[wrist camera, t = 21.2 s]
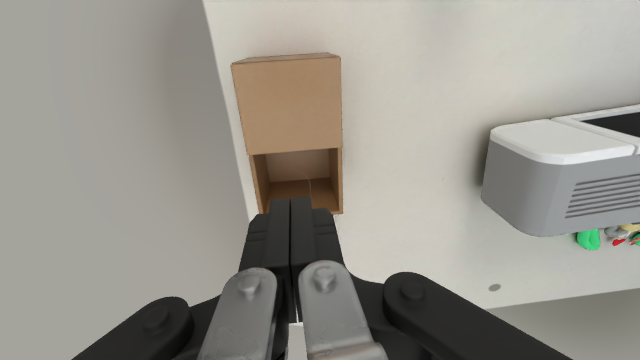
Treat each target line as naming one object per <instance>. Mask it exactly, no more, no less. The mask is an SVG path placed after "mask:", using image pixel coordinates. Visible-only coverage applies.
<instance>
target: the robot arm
mask: <svg viewBox="0 0 640 360" xmlns="http://www.w3.org/2000/svg"><path fill="white" fill-rule="evenodd" d="M296 305H297V313H298V320H299V322H303V326H304V334H305V341H306V349H307V358H308V360H573V359H571V358H569V357H567V356H565V355H563V354H562V353H560V352H558V351H557V350H555V349H553V348H551V347H549V346H547V345H546V344H544V343H542V342H540V341H539V340H537V339H535V338H533V337H532V336H530V335H528V334H526V333H524V332H523V331H521V330H519V329H517V328H515V327H514V326H512V325H510V324H508V323H507V322H505V321H503V320H501V319H499V318H498V317H496V316H494V315H492V314H490V313H489V312H487V311H485V310H484V309H482V308H480V307H478V306H476V305H475V304H473V303H471V302H469V301H468V300H466V299H464V298H462V297H460V296H459V295H457V294H455V293H453V292H452V291H450V290H448V289H446V288H444V287H443V286H441V285H439V284H437V283H435V282H434V281H432V280H430V279H428V278H427V277H425V276H422V275H420V274H417V273H413V272H400V273H396V274H394V275H392V276H390V277H389V278H388V279H387V280H386V281H385V283H384V284H381V283H375V282H369V281H365V280H362V279H359V278H357V277H355V276H354V275H352V274H351V273H350V272H349V271H348V270H347V268H346V267H345V264H344V261H343V257H342V252H341V248H340V244H339V239H338V235H337V231H336V227H335V222H334V218H333V214H332V213H330V212H329V211H328V210H327V209H326V208H315V209H312V206H311V197H310V196H305V197H294V198H291V200H290V198H284V199H273V200H271V201H270V207H269V213H263V214H257V215H256V216H255V217H254V219H253V220H252V221H251V222H250V224H249V228H248V234H247V237H246V243H245V245H244V249H243V254H242V258H241V262H240V266H239V270H238V273H237V274H235V275H234V276H233V277H231V278H230V279H229V281H228V282H227V283H226V284H225V286H224V288H223V291H222V294H220V295H219V296H217V297H215V298H213V299H210V300H208V301H205V302H202V303H200V304H197V305H194V306H192V307H189V306H188V304H187V302H186V301H185V300H184V299H182V298H179V297H165V298H161V299H158V300H155V301H153V302H151V303H149V304H147V305H146V306H144V307H143V308H142V309H140V310H139V311H137V312H136V313H135V314H133V315H132V316H130V317H129V318H128V319H126V320H125V321H124V322H122V323H121V324H119V325H118V326H117V327H115V328H114V329H113V330H111V331H110V332H109V333H107V334H106V335H104V336H103V337H102V338H100V339H99V340H98V341H96V342H95V343H94V344H92V345H91V346H89V347H88V348H87V349H85V350H84V351H83V352H81V353H80V354H78V355H77V356H76V357H74V358H73V359H72V360H287V359H288V336H289V334H288V333H289V323H297V315H296Z"/></svg>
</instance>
